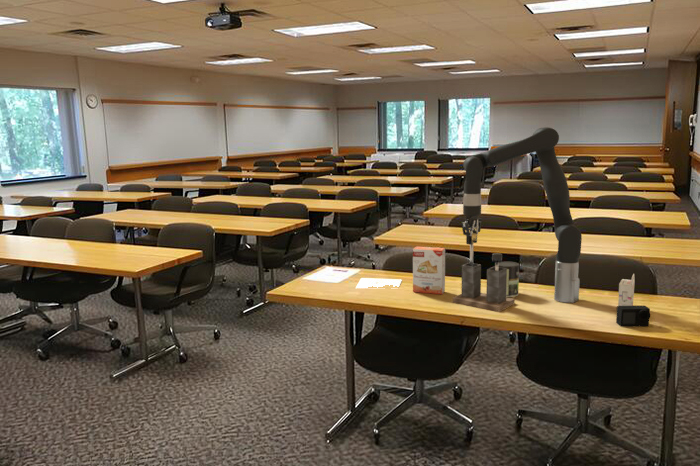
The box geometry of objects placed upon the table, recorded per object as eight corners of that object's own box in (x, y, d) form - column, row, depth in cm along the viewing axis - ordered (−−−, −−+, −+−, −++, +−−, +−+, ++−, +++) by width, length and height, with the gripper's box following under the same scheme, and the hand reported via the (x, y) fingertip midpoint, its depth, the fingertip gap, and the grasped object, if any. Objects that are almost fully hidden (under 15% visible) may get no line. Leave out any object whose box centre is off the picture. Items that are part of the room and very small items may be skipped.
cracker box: (412, 292, 262) (412, 248, 258) (416, 289, 268) (415, 245, 264) (442, 295, 257) (442, 250, 253) (445, 291, 262) (445, 247, 258)
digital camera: (621, 328, 210) (623, 309, 209) (615, 323, 215) (616, 305, 214) (650, 327, 209) (651, 309, 208) (643, 322, 215) (644, 305, 214)
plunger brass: (478, 275, 246) (478, 233, 242) (473, 277, 243) (473, 234, 239) (469, 273, 249) (469, 232, 245) (464, 275, 246) (465, 233, 242)
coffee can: (517, 291, 260) (518, 261, 257) (519, 297, 250) (520, 266, 247) (494, 290, 262) (495, 260, 259) (495, 296, 252) (496, 266, 249)
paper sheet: (407, 281, 283) (407, 279, 282) (393, 300, 256) (393, 297, 255) (362, 278, 290) (362, 276, 290) (344, 296, 263) (344, 294, 263)
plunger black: (503, 296, 239) (504, 253, 236) (498, 298, 236) (499, 255, 233) (494, 294, 242) (494, 252, 239) (489, 296, 239) (490, 254, 236)
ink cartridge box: (619, 305, 235) (622, 271, 232) (633, 307, 232) (635, 272, 230) (617, 311, 228) (619, 276, 225) (630, 313, 225) (633, 277, 223)
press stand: (514, 303, 242) (515, 267, 239) (499, 311, 231) (500, 274, 229) (468, 294, 256) (469, 260, 253) (452, 302, 246) (452, 266, 243)
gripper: (471, 206, 232) (471, 247, 235) (488, 202, 243) (487, 241, 246) (455, 205, 237) (455, 245, 240) (472, 201, 248) (472, 239, 251)
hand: (471, 243), depth 243 cm, fingers closed on plunger brass, 4 cm apart
